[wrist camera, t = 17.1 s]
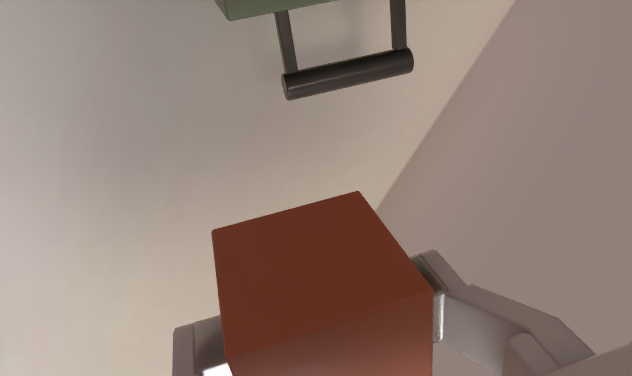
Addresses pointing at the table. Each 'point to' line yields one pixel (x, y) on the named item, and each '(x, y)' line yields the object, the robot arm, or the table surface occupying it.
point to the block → (321, 295)
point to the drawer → (296, 84)
